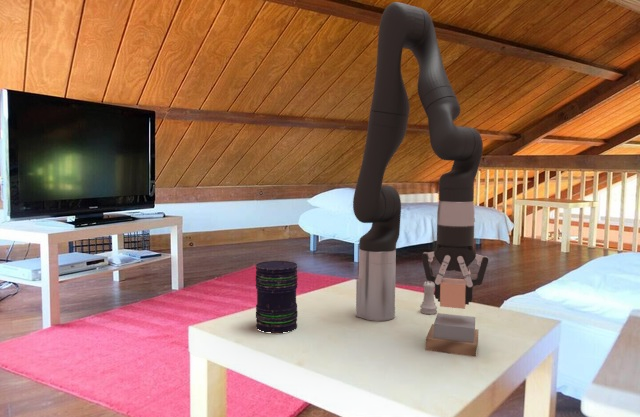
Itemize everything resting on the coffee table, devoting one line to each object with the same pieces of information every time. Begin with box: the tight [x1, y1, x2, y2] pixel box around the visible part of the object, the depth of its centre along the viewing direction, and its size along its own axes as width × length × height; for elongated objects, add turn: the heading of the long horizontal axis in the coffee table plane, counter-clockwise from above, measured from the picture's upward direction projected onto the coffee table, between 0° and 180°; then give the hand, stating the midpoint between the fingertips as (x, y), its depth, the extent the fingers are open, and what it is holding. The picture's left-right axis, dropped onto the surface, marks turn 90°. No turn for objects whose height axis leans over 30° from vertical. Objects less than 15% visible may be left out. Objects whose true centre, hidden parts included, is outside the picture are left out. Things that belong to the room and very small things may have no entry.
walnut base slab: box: [424, 323, 479, 358], centre depth 103 cm, size 10×10×3 cm
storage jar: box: [255, 260, 299, 334], centre depth 114 cm, size 10×10×15 cm
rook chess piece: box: [419, 280, 438, 315], centre depth 126 cm, size 4×4×8 cm
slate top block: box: [433, 312, 476, 343], centre depth 102 cm, size 8×8×3 cm
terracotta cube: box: [439, 277, 467, 310], centre depth 102 cm, size 5×5×5 cm
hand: (453, 301), depth 102 cm, fingers closed on terracotta cube, 5 cm apart
